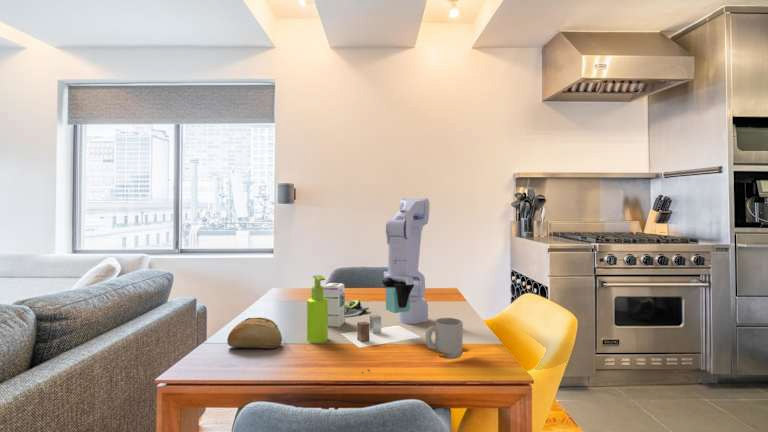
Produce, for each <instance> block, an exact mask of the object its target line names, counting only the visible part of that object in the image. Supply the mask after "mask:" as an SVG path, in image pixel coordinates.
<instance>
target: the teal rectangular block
mask: <svg viewBox="0 0 768 432" xmlns="http://www.w3.org/2000/svg"><path fill="white" fill-rule="evenodd" d="M385 310H386V311H389V312H390V313H391V312H392V313H393V314H399V312H407V311H410V295H409V298H408V301H407V305H406V307H404V308H399V305H398V296H397V291H396V288H395V287H386V288H385Z"/></svg>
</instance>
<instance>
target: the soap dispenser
mask: <svg viewBox="0 0 768 432" xmlns="http://www.w3.org/2000/svg"><path fill="white" fill-rule="evenodd" d="M312 278H313V279H314V285H313V286H311V297H310V298H307V300H306V341H307V343H310V344H322V343H325V342H327V341H328V339H329V333H328V332H329V330H328V329H329V326H328V299H327V298H323V286H322V284H321V281H326V278H325V277H324V276H323V275H321V274H319V275H318V274H317V275H312Z"/></svg>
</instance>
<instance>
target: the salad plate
mask: <svg viewBox="0 0 768 432" xmlns="http://www.w3.org/2000/svg"><path fill="white" fill-rule="evenodd" d="M368 310H370V307H365V306H362V304H361V301H360V299H358V298H356V299H352V300H350V301H348V303H347V304H345V319H347V318H353V317H354V318H355V317H358V316H359V315H362V314H363V313H364V312H366V311H368ZM357 315H358V316H357Z"/></svg>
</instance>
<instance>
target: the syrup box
mask: <svg viewBox="0 0 768 432" xmlns="http://www.w3.org/2000/svg"><path fill="white" fill-rule="evenodd" d="M322 287H323V298H327V299H328V327H337V328H339V327H341V326H342V325H344V324H345V323H346V318H345V305H346V302H345V300H346V298H345V295H346V294H345V293H346V292H345V283H341V282H339V283H338V282H329V283H327V284H325V285H323V286H322Z"/></svg>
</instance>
